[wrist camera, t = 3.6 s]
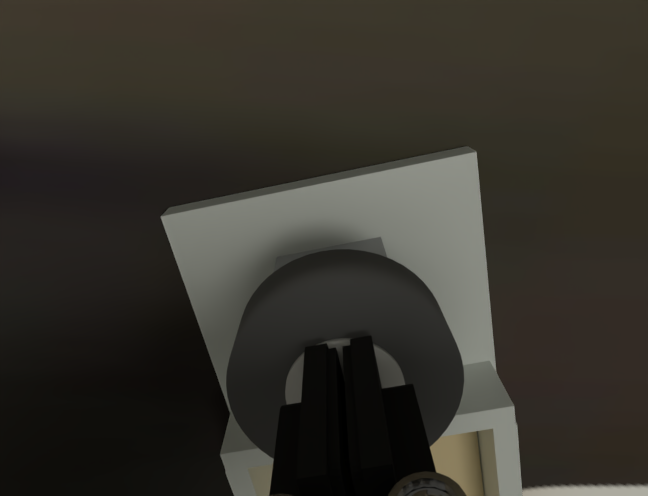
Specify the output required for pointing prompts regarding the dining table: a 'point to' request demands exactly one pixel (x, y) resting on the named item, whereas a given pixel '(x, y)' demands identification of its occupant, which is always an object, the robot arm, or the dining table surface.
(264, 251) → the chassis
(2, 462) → the dining table surface
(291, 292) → the wheel
